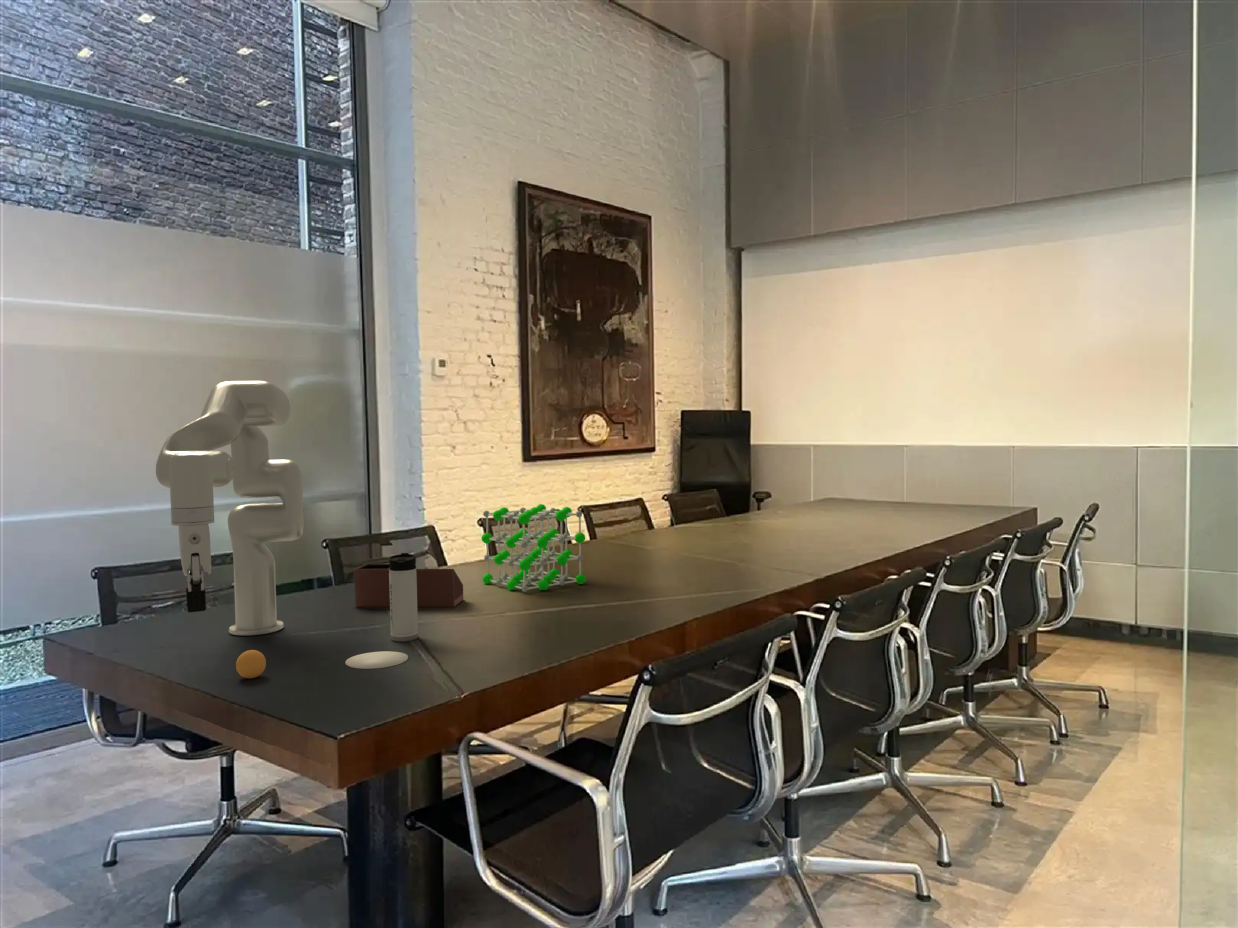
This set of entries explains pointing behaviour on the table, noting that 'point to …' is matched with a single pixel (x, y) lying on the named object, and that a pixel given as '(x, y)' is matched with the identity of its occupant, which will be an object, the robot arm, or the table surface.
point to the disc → (376, 660)
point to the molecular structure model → (541, 551)
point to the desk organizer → (431, 588)
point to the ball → (250, 664)
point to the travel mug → (403, 597)
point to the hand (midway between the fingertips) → (196, 608)
